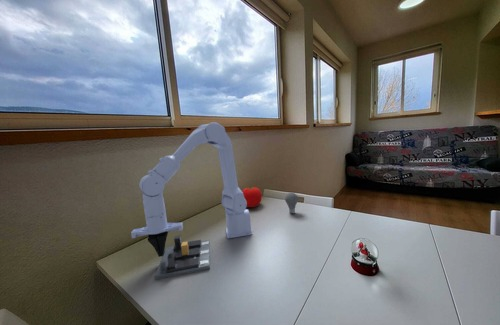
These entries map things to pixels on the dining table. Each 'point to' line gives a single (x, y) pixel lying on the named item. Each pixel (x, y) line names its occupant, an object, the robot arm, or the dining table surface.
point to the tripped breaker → (184, 248)
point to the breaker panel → (184, 259)
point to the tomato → (252, 196)
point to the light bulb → (291, 201)
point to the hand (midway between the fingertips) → (161, 254)
